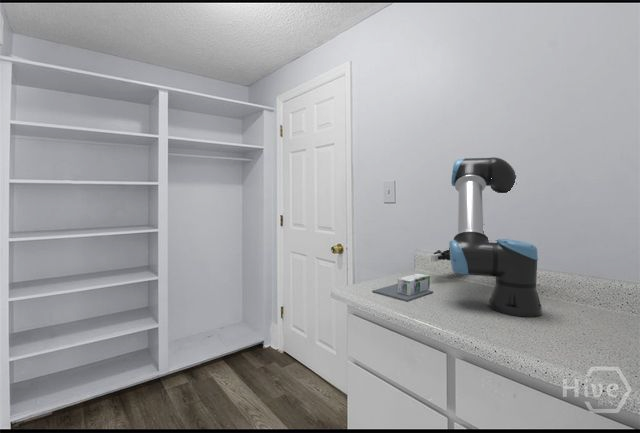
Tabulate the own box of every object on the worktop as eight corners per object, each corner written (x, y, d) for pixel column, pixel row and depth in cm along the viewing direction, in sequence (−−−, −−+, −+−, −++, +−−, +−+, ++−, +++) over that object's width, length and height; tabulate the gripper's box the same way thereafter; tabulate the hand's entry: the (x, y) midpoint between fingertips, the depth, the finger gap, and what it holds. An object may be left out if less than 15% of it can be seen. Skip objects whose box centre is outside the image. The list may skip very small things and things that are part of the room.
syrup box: (430, 289, 130) (410, 296, 120) (417, 286, 134) (396, 292, 125) (430, 275, 130) (410, 281, 120) (417, 273, 134) (397, 278, 125)
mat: (399, 284, 140) (399, 283, 139) (433, 292, 128) (433, 291, 127) (372, 292, 128) (372, 290, 128) (407, 301, 116) (407, 300, 116)
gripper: (470, 262, 153) (446, 269, 137) (444, 258, 163) (419, 264, 147) (471, 246, 153) (447, 251, 137) (444, 243, 162) (419, 248, 147)
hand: (432, 258), depth 142 cm, fingers closed
